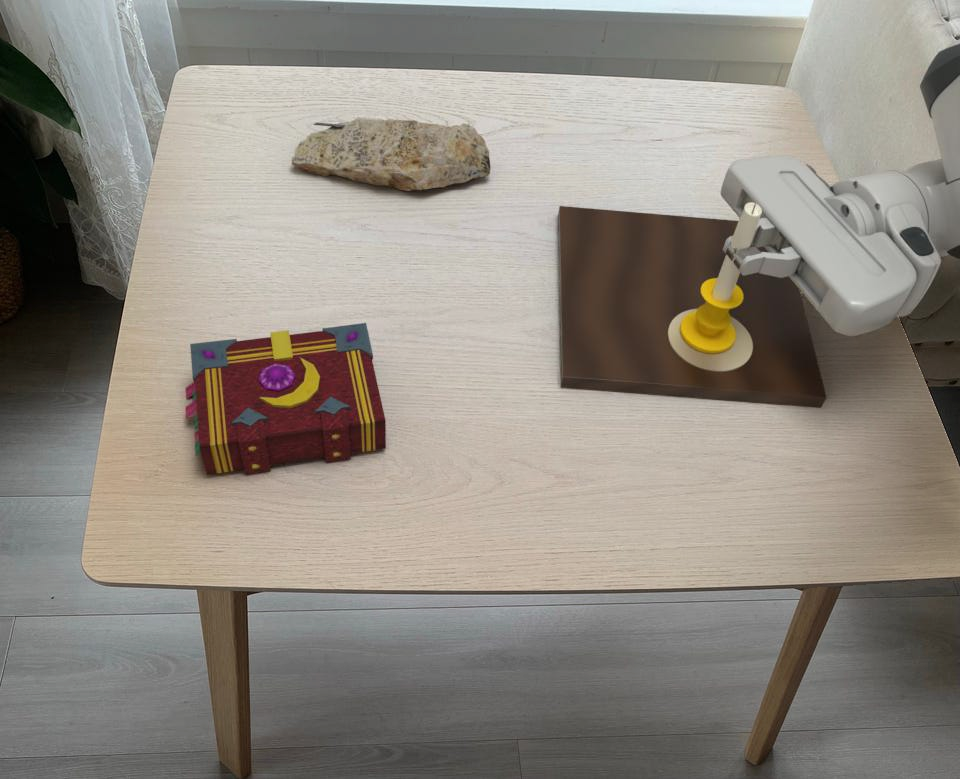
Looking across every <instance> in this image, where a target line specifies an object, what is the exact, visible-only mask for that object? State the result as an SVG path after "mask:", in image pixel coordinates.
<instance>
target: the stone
mask: <svg viewBox="0 0 960 779" xmlns="http://www.w3.org/2000/svg"><path fill="white" fill-rule="evenodd" d="M312 125H313V126H321V127H328V128H327V129H324V130H318V131H315V132H311V133H310V134H309V135H307V136H306V138H305V139H303V140H302V141H300V142H299V143H298V145H297V146H296V147H295V149H294V155H293V156H292V157H291V165H292V166H294V167H297V168H298V169H299V170H300V171H304V172H306V173H311V174H315V175H317V176H321V177H323V176H324V177H325V176H330V175H331V176H339V177H342V178H345V179H348V180H351V181H354V182H358V183H365V184H367V183H368V184H369V185H373V186H375V185H376V186H385V187H390V188H393V189H398V190H401V191H406V192H408V191H409V192H411V191H413V190H419V191H422V190H429V189H434V188H435V189H436V188H445V187H446V186H451V185H453V184H463V183H467V182H469V181H470V180H472V179H477V178H483V177H486V176H488V175H490V174H491V159H490V151H489V148H488V147H487V144H486V140H485V138H484V137H483V136H482V135H481V134H479V133H478V131H477V130H476V128H475V127H474V126H472V125H471V124H468V123H464V122H463V123H461V124H460V125H459V124H455V125H451V126H447V125H443V124H439V123H428V122H421V121H418V120H413V119H412V120H411V119H410V120H407V119H406V120H405V119H393V118H389V119H380V118H365V117H356V118H355V119H353V120H351V121H344V122H339V123H326V122H315V123H313V124H312Z"/></svg>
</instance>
